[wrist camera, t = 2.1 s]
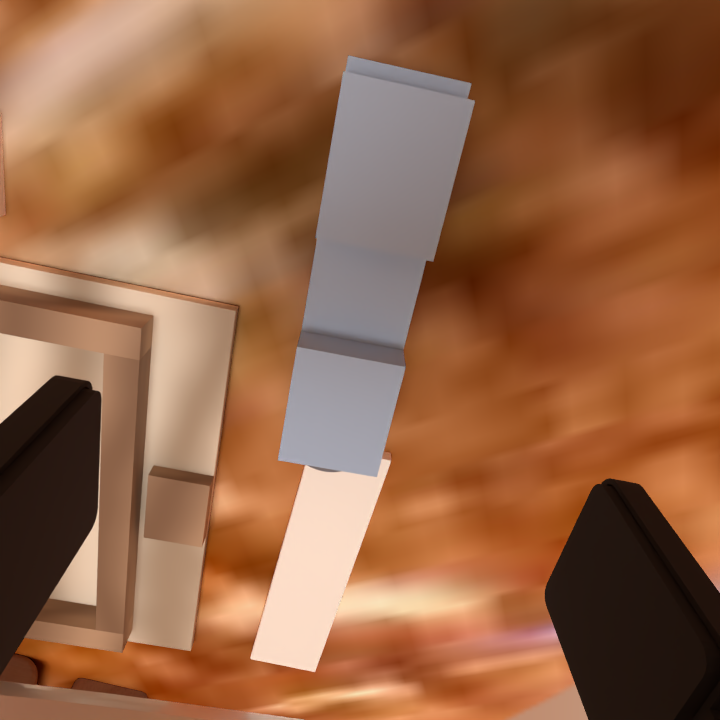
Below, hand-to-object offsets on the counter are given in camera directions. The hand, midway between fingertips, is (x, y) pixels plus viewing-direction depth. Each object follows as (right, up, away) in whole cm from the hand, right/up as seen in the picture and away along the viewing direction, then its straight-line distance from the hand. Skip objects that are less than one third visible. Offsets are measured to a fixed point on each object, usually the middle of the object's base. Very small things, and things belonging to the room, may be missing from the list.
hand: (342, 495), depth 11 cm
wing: (-2, -8, +21) cm, 23 cm away
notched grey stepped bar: (+1, +7, +14) cm, 16 cm away
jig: (-15, -3, +19) cm, 24 cm away
